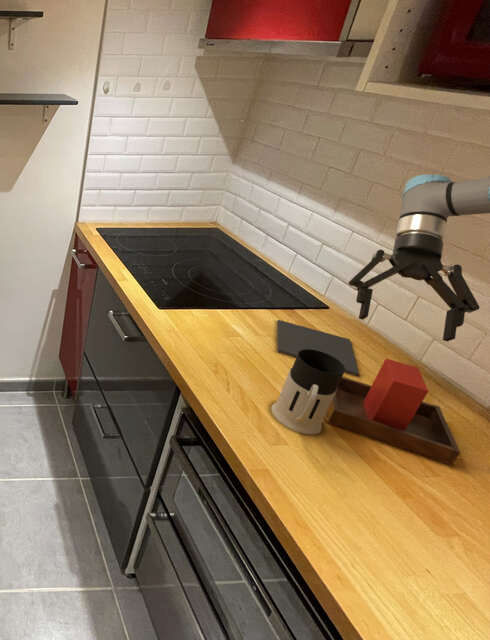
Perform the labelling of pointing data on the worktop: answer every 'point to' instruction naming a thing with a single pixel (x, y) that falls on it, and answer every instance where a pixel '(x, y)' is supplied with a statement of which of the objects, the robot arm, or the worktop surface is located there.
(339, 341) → the mat
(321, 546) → the worktop surface
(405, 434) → the dark brown wooden tray
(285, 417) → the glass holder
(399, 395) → the block
